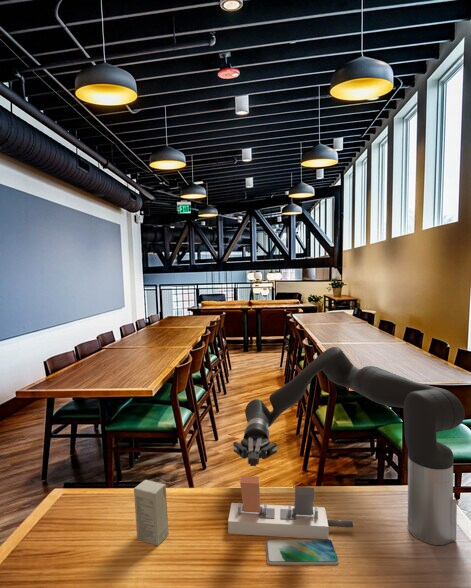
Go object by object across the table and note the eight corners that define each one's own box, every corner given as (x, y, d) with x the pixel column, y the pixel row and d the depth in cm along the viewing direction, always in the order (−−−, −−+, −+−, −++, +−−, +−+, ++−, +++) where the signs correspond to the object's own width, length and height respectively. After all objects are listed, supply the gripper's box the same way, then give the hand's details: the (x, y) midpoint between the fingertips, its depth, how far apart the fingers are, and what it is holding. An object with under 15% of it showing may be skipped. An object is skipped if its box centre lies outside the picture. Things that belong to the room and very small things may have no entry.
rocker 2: (312, 509, 91) (315, 487, 82) (313, 516, 90) (316, 495, 80) (292, 508, 91) (293, 486, 82) (292, 515, 90) (293, 494, 81)
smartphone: (265, 539, 86) (331, 538, 86) (265, 542, 86) (331, 542, 86) (267, 562, 79) (339, 562, 79) (267, 566, 79) (339, 566, 79)
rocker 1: (262, 507, 92) (260, 476, 85) (262, 514, 91) (260, 483, 83) (242, 506, 93) (238, 475, 85) (242, 513, 92) (238, 482, 84)
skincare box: (169, 534, 89) (167, 484, 88) (158, 546, 85) (156, 494, 84) (147, 527, 92) (145, 478, 91) (135, 538, 88) (133, 487, 87)
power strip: (349, 520, 93) (349, 501, 92) (355, 540, 86) (355, 520, 85) (231, 514, 96) (231, 496, 96) (228, 533, 89) (227, 513, 89)
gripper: (278, 447, 115) (278, 477, 98) (235, 445, 117) (228, 475, 100) (278, 422, 115) (278, 449, 98) (234, 422, 117) (227, 448, 99)
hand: (252, 462), depth 99 cm, fingers closed
